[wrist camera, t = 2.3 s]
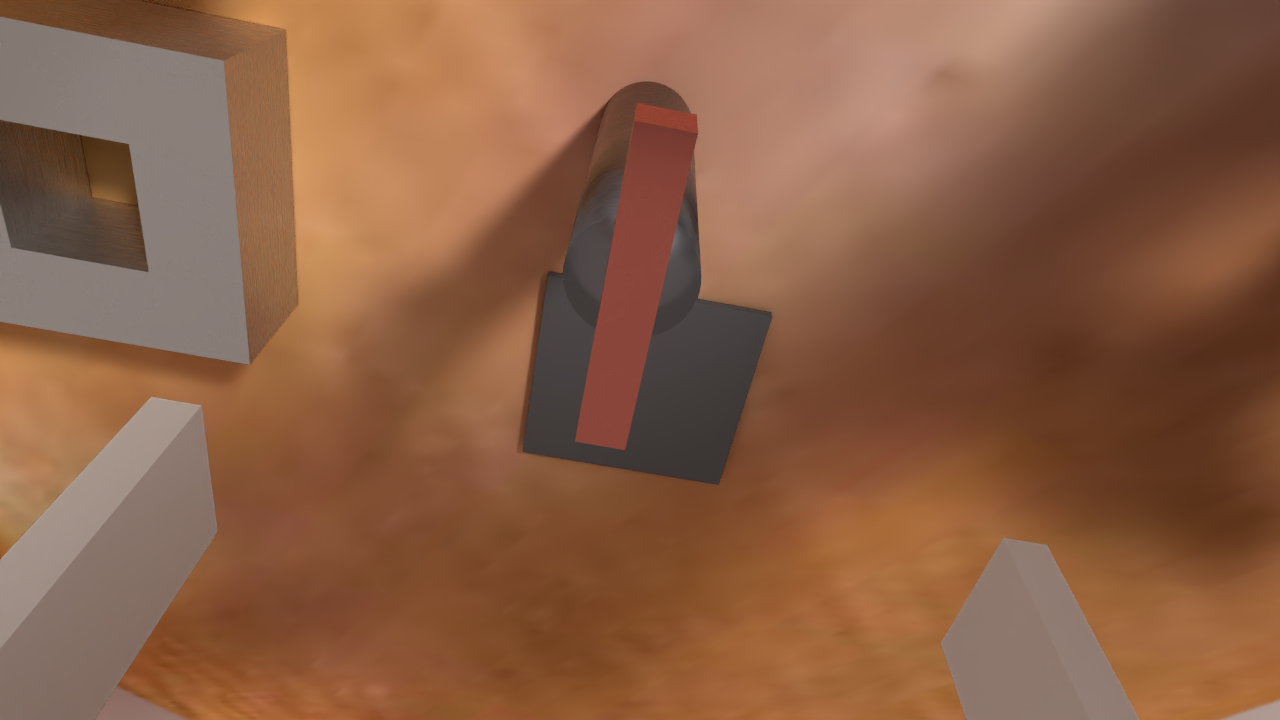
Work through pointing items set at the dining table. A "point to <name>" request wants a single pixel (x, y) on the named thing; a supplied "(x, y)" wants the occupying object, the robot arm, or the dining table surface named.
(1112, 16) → the dining table surface
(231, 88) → the block
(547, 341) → the mat
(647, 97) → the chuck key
